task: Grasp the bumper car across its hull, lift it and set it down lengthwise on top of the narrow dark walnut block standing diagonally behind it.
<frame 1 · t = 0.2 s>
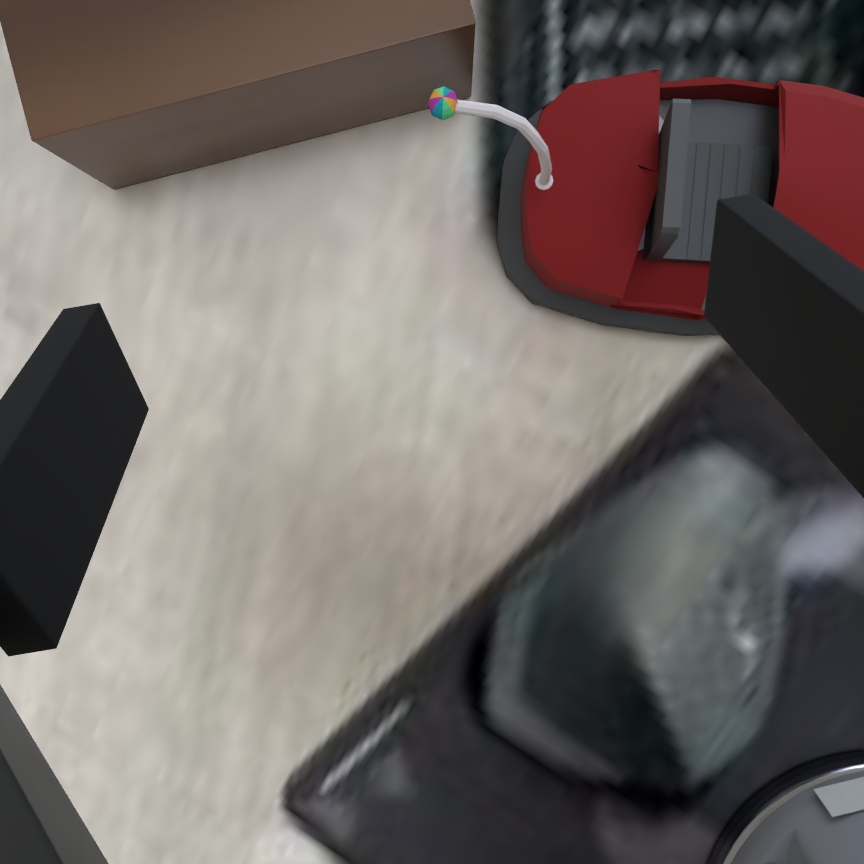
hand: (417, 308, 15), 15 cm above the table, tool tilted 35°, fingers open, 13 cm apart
bumper car: (667, 220, 30), on the table
walnut block: (267, 51, 30), on the table
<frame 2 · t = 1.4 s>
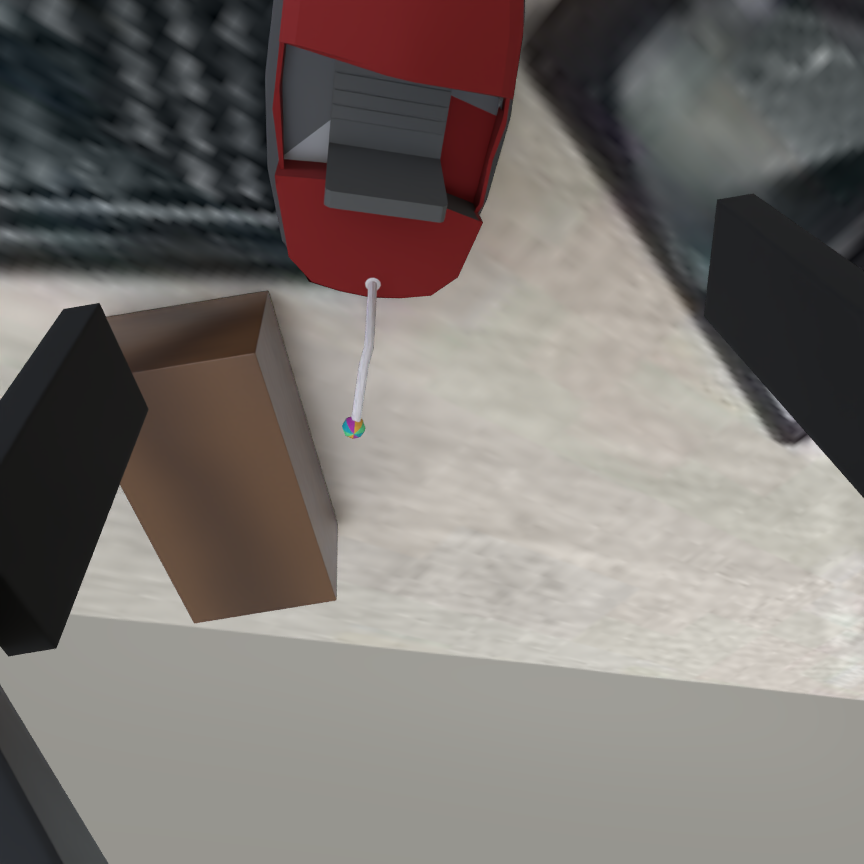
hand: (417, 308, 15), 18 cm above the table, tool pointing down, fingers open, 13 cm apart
bumper car: (386, 112, 30), on the table
walnut block: (236, 433, 39), on the table
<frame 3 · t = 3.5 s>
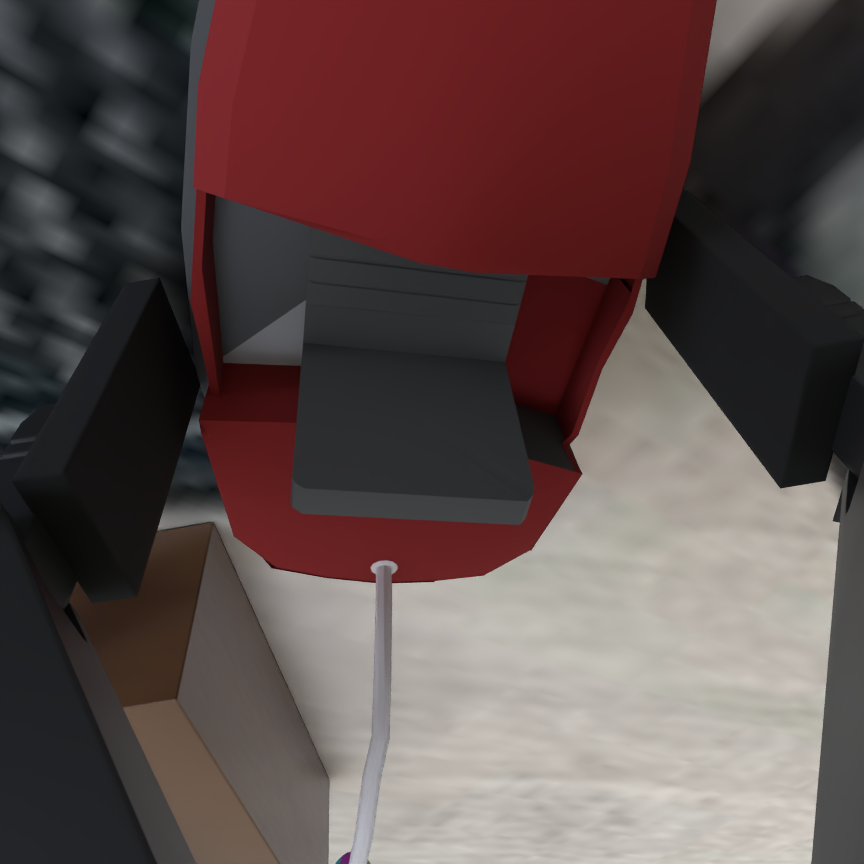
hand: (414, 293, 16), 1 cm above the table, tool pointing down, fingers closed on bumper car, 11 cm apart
bumper car: (405, 264, 17), on the table, touching gripper
walnut block: (175, 693, 26), on the table
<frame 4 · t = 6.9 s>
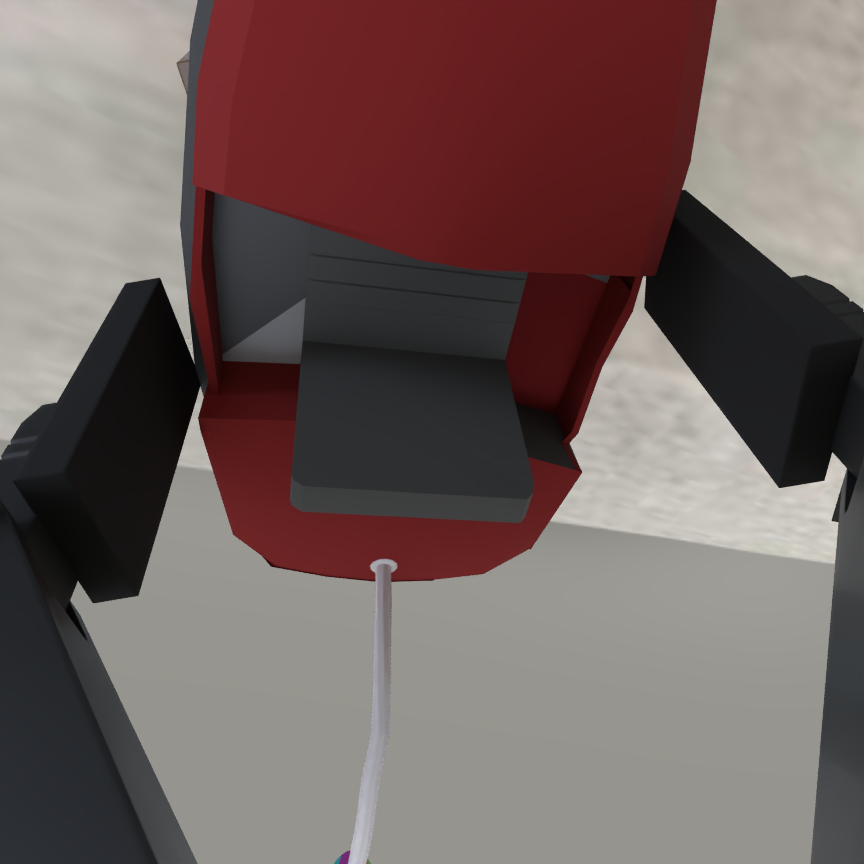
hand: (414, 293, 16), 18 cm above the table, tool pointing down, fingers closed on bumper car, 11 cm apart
bumper car: (405, 262, 17), point 17 cm above the table, touching gripper
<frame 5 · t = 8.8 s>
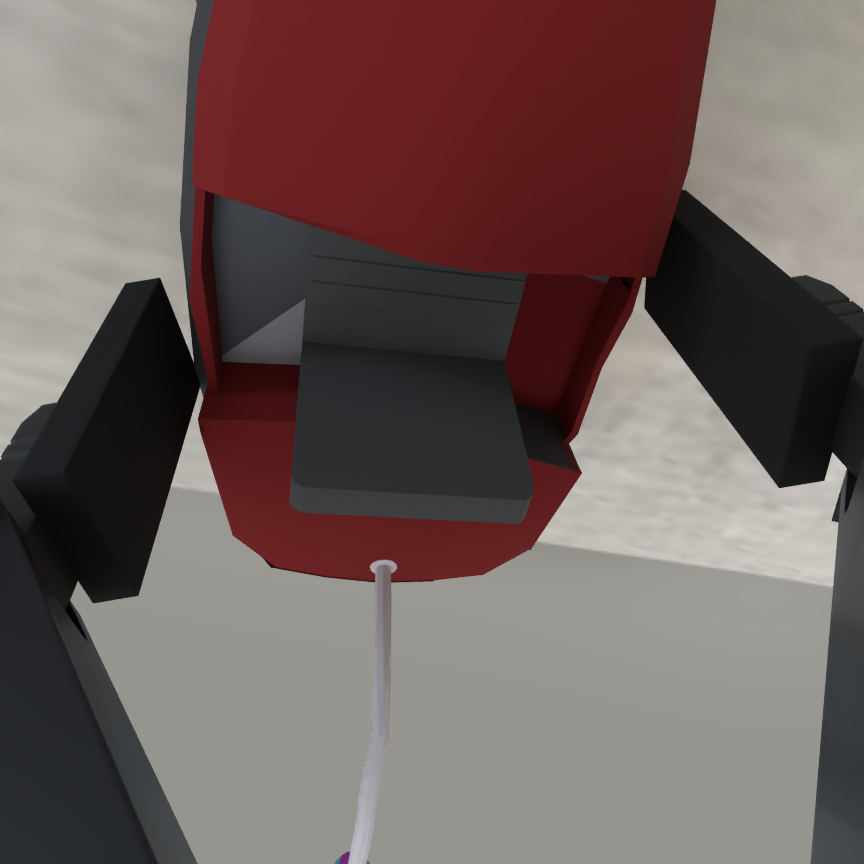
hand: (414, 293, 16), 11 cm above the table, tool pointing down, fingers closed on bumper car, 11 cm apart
bumper car: (405, 263, 17), point 9 cm above the table, touching gripper
when the fingers open (7 cm above the table, at t = 10.4 s): bumper car stays where it is, resting on walnut block.
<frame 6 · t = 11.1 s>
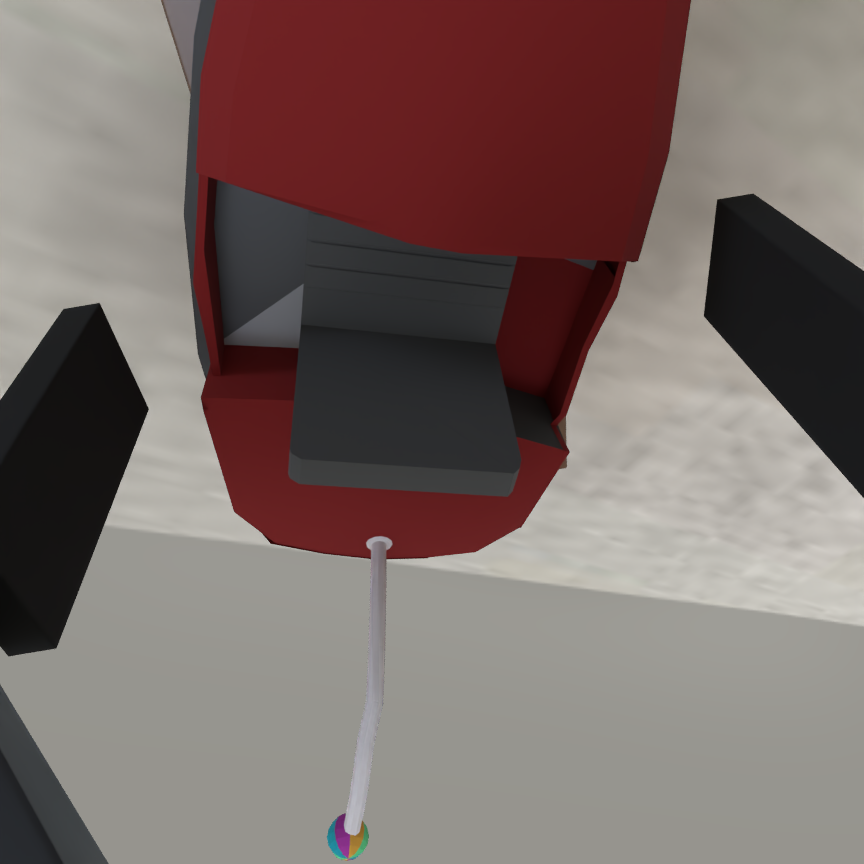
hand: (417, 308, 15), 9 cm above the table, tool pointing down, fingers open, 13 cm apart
bumper car: (400, 251, 18), point 6 cm above the table, touching walnut block
walnut block: (391, 180, 23), on the table
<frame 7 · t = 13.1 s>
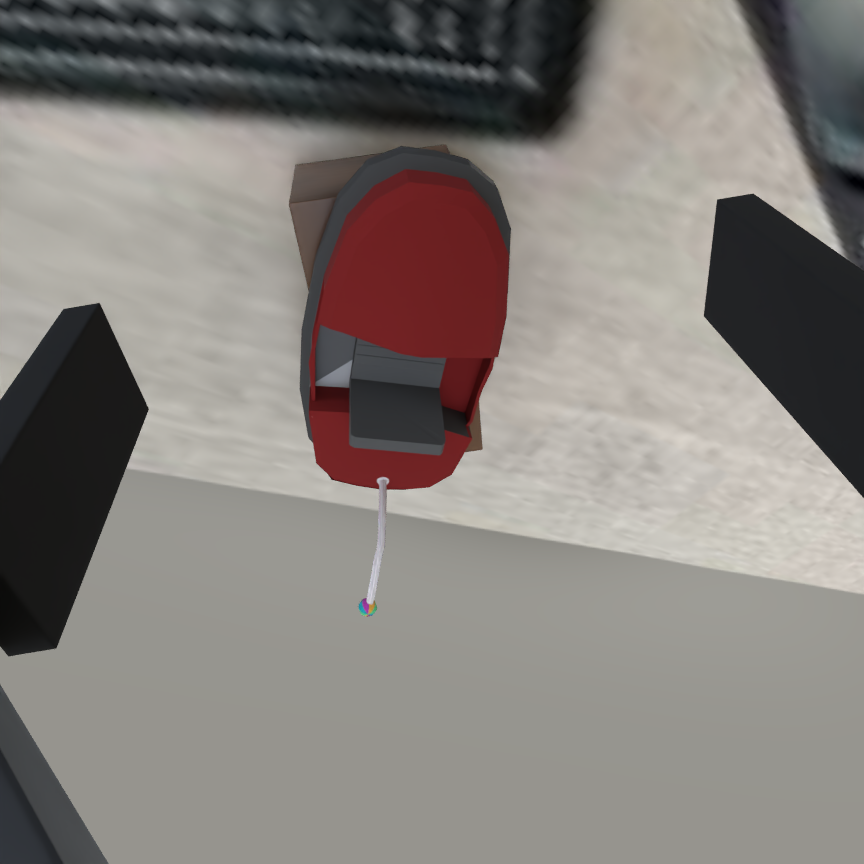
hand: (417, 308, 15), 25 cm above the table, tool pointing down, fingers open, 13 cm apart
bumper car: (396, 341, 37), point 6 cm above the table, touching walnut block
walnut block: (391, 293, 42), on the table
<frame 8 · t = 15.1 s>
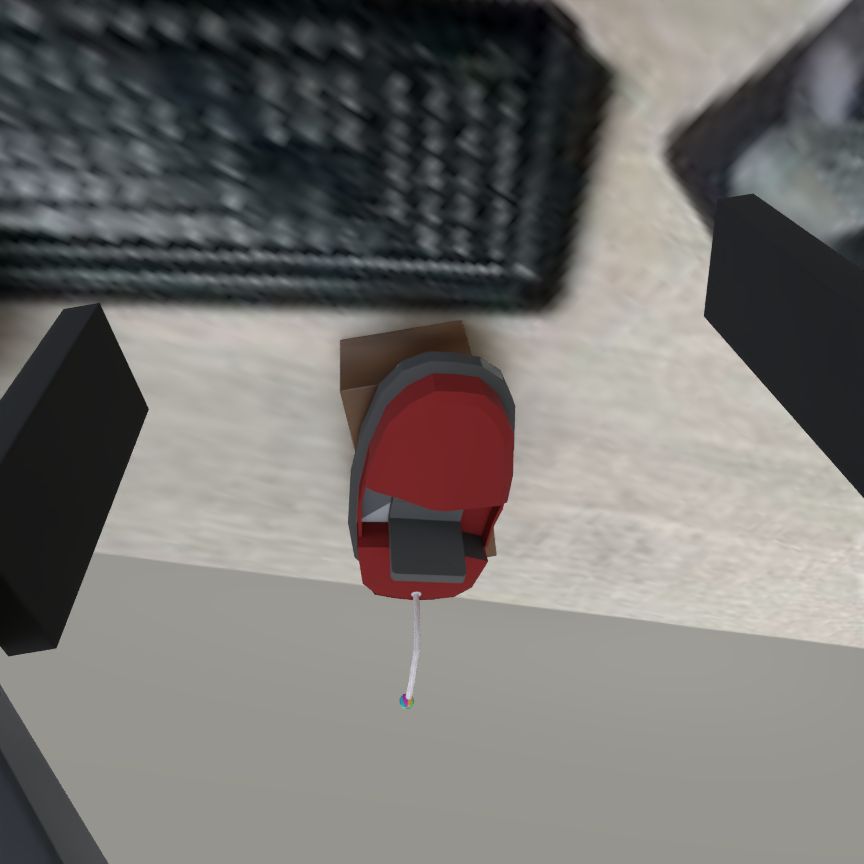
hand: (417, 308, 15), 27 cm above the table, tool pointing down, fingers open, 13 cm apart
bumper car: (424, 480, 46), point 6 cm above the table, touching walnut block
walnut block: (418, 427, 50), on the table
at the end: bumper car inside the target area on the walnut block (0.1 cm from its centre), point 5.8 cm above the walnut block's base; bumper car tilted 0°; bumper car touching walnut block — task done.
